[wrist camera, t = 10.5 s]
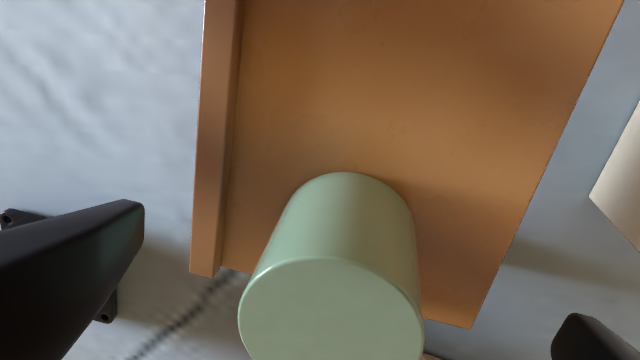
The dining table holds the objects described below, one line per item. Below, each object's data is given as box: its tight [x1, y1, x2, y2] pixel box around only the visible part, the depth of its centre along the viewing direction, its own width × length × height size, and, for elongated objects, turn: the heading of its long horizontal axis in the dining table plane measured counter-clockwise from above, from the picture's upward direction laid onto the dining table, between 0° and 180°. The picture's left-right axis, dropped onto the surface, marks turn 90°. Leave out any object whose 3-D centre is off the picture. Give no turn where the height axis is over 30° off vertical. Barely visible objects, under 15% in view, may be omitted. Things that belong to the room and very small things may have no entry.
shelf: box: [189, 0, 624, 329], centre depth 14 cm, size 20×11×6 cm, turn 169°
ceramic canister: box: [238, 172, 425, 360], centre depth 13 cm, size 5×5×5 cm
